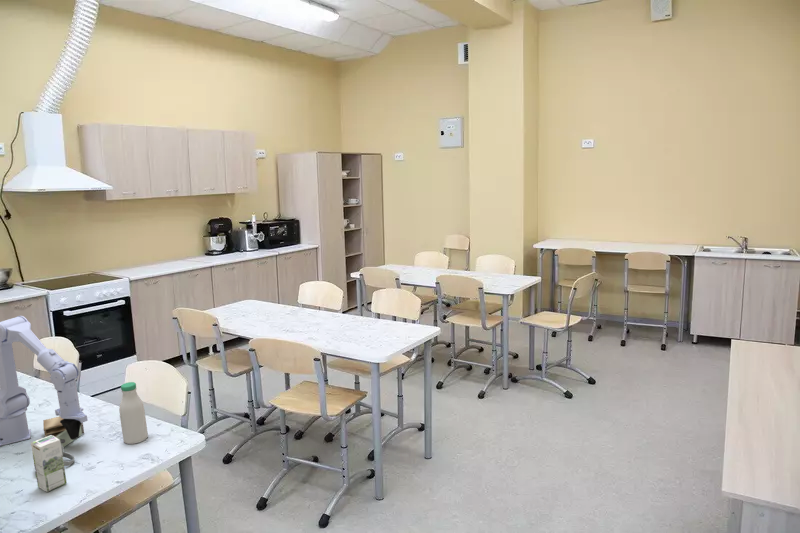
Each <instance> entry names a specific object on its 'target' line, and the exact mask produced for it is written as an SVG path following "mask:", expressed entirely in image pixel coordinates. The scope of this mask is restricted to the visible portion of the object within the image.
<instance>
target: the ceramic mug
mask: <svg viewBox="0 0 800 533" xmlns="http://www.w3.org/2000/svg"><path fill="white" fill-rule="evenodd" d="M64 448H65V447H63V446H62V445H61V449H62V455H63V458H65V459H69V460H70V461H69V460H68V461H64V460H63V462H64V467H68V466H71V465H73V464H74V462H75V456H74V455H73V454H71V453H68V452H65V450H64ZM33 465H34V464H33ZM34 467H35V465H34Z"/></svg>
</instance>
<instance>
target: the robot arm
mask: <svg viewBox="0 0 800 533" xmlns="http://www.w3.org/2000/svg"><path fill="white" fill-rule="evenodd" d="M15 342H17V343H18V342H19V343H22V345H24V346H25V347H26V348H27V349H29V350H30V352H32V353H34V354H35V355H36V356H37V358H36V360H37V361H36V362H37V363H38V364H39V365H40V366H41V367H42V368H44V369H45V370H46V372H48V374H50V376H49V378H50V381H51V383H52V384H53V386H54V389H55V391H56V393H57V399H58V400H57V401H58V407H59V408H57V409H55V410H54V413H55V416H56V417H59V416H60V417H61V418H63V420H61V421H60V423H61V424H62V425H63V426H64V427H65V429H66V431H67V433H68V435H69V437H70V439H72V440H73V441H75V440H77V439H78V438H79V437H80V436H79V431H80V426H81V423H83V424H84V423H86V422H88V415H87V414H85V413H84V412H83V411H84V408H83V407H80V401H79V394H78V388H77V382H76V380H77V378H78V377H79V373H80V371H79V368H78V367H77V366H76V364H75V363H73V362H70V361H68V360H65V359H63V357H61V355H59V354H58V353H57V352H56V351H55V349H53V348H47V347H46V346H45V345H44V343H42V340H40V339H39V338H38V337H37V335H36V334H35V333H34V332H33V331H32V324H31V322H30V321H29V320H28V319H27V318H26V317H25V316H24V315H17V316H16V317H12V318H8V319H6V320H1V321H0V447H2V446H5V445H9V444H14V443H18V442H22V441H26V440H30V439H31V437H32V436H31V435H32V432H31V431H32V430H31V429H30V428H29V425H28V424H29V423H28V419H27V413H26V412H27V411H28V407H29V406H30V404H31V401H30V397H29V395H28V393H27V389H26V388H25V387H22V386H19V381H18V374H17V369H16V362H15V354H14V348H13V343H15ZM74 439H75V440H74Z"/></svg>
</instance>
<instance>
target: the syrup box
mask: <svg viewBox="0 0 800 533" xmlns="http://www.w3.org/2000/svg"><path fill="white" fill-rule="evenodd" d="M30 445H31V446H30V447H31V452H32V459H33V465H35V466H34V470H35V478H36V482H37V487H38V488H40V489H41V490H43V491H44V492H46V493H49V492H50V491H53V490H55V489H57V488H59V487H61V486H64V485H66V484H67V476H66V471H65V466H64V462H63V461H64V457H63V455H62V449H61V442H60V440H59V439H58V438H56V437H54V436H52V435H50V436H47V437H45V436H44V437H42V438H39V439H37V440H34V441H32V442H30Z"/></svg>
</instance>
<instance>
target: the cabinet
mask: <svg viewBox="0 0 800 533" xmlns="http://www.w3.org/2000/svg"><path fill="white" fill-rule="evenodd" d="M61 420H63V418H61V417H60V416H59V415H58V416H56V417H52V418H47V419H43V433H44V437H47V436H50V435H52V436H54V437H56V436H57V435H59V434H60V433H62V432H63V431H65V430H66V429H65V427H64V426H63V425H62V424H61V423H60V421H61ZM84 428H85V427H84V422H83V423H81V430H82V435H84V434H85V429H84ZM56 438H57V437H56Z"/></svg>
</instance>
